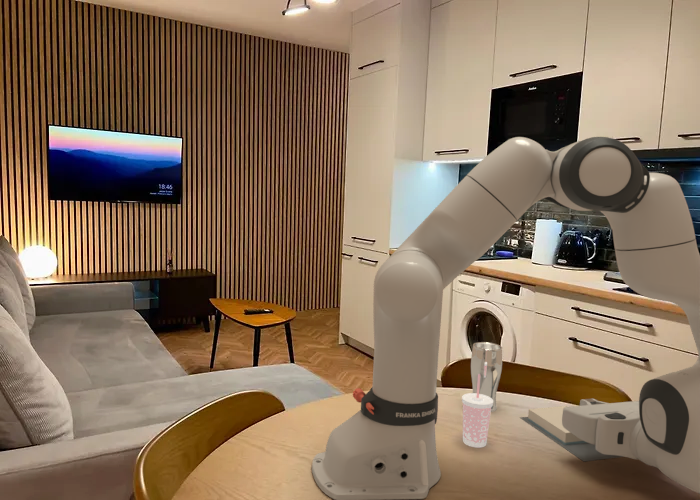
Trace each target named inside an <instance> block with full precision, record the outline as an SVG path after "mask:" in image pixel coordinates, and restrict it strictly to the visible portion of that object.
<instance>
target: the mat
mask: <svg viewBox="0 0 700 500" xmlns="http://www.w3.org/2000/svg"><path fill="white" fill-rule="evenodd" d="M519 418H520V419H521V420H523V422H525V423H527V424H528V425H530V426H531V427H533V428H534V429H535V430H537V431H538V432H539V433H542V434H543V435H544V436H546V437H547V438H548V439H550V440H551V441H553V442H554V443H556V444H557V445H559V446H560V447H561V448H562V449H565V450H566V451H568V452H569V453H570V454H572V455H574V456H575V457H576V458H578V459H579V460H581V461H582V462H583V463H584V462H592V461H601V460H609V459H617V458H624V456H617V455H606V454H602V453H600V452H598V451H597V450H596V445H593V444H590V443H579V444H570V445H564V444H562V443H561V442H560V441H558V440H557V439H555V438H554V437H552V436H551V435H549V434H548V433H546V432H545V431H543V430H542V429H540V428H539V427H537V426H536V425H534V424H533V423H531V422H530V421H528V416H521V417H519Z"/></svg>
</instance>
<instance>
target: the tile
mask: <svg viewBox="0 0 700 500" xmlns="http://www.w3.org/2000/svg"><path fill="white" fill-rule="evenodd" d="M564 407H568V405H564V406H563V405H562V406H552V407H539V408H537V407H536V408H528V413H527V414H528V415H527V417H528V421H530V422H531V423H533V424H534V425H536V426H537V427H539V428H540V429H542V430H543V431H545V432H546V433H548V434H549V435H551V436H552V437H554V438H555V439H557V440H558V441H560V442H561V443H562V444H564V445H570V444H579V443H587V442H585V441H583V440H581V439H580V438H578V437H577V436H575V435H574V434H572V433H571V432H569V431H568V430H566V429H565V428H564V427H563V425H562V414H563V409H564Z"/></svg>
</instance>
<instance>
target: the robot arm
mask: <svg viewBox="0 0 700 500" xmlns="http://www.w3.org/2000/svg"><path fill="white" fill-rule="evenodd" d="M543 199H545V200H546V201H549V202H551V203H552V204H555V205H557V206H559V207H562V208H566V209H572V210H574V211H579V212H588V211H589V212H590V211H591V212H592V211H598V212H600V213H601V214H603V215H604V216H605V218H606V219H607V221H608V223H609V225H610V229H611V230H612V237H613V238H612V239H613V246H614V252H615V259H616V263H617V264H616V266H617V269H618V272H619V274H620V276H621V279H622V281H623V282H624V283H625V284H626V285H627V286H628V288H629V289H631V290H633V292H635V293H637V294H638V295H641V296H643V297H645V298H648V299H652V300H657V301H662V302H668V303H673V304H674V305H677V306H678V307H679V308H681V310H682V311H683V312H684V313H685V316H686V318H687V320H688V321H687V322H688V325H689V328H690V330H691V334H692V338H693V340H694V344H695V347H696V350H697V353H698V356H697V360H696V362H695V363H694V364H693V365H691V366H689V367H686V368H683V369H679V370H677V371H672V372H669V373H665V374H663V375H660V376H657V377H655V378H652V379H649V380H647V381H646V382H644V384H643V385H642V387H641V389H640V393H639V397H638V400H636V401H635V400H633V401H623V402H622V401H621V402H611V403H609V402H605V401H600V400H598V399H595V398H585V399H584V398H583V399H580V400H579V401H580V402H579V405H571V406H567V407H564V409H563V414H562V425H563V427H564V428H565V429H566V430H568V431H569V432H571V433H572V434H574V435H575V436H577V437H578V438H580V439H581V440H583V441H585V442H587V443H590V444H593V445H596V450H597V451H598V452H600V453H602V454H606V455H617V456H624V457H625V458H629V459H631V460H632V459H633V460H639V461H640V462H642V463H644V464H645V465H647V466H650V467H655V468H656V469H658V470H659V471H660V472H661V473H662V474H663V475H664V476H666V477H667V478H669V479H671V480H672V481H674V482H676V483H677V484H679V485H681V486H682V487H684V488H686V489H689V490H690V491H692V492H695V493H697V494H699V495H700V252H699V248H698V244H697V239H696V234H695V228H694V223H693V219H692V215H691V213H690V210H689V206H688V203H687V200H686V197H685V195H684V192H683V190H682V188H681V185H680V183H679V182H678V181H677V180H676V179H675V178H674V177H672V176H671V175H668V174H665V173H661V172H660V173H659V172H649V170H648V169H647V168H646V167H645V166H644V165H643V164H642V163H641V161H640V160H639V159H638V157H637V156H636V154H635V153H634V151H633V150H632V149H631V148H630V147H629V146H628V145H627V144H625V143H624V142H622V141H621V140H618V139H615V138H613V137H608V136H593V137H589V138H588V137H587V138H585V139H583V140H578V141H575V142H573V143H570V144H568V145H565V146H564V147H561V148H560V149H558V150H555V151H550V150H548V149H545V147H544V146H543V145H542V144H540V143H539V142H537V141H535V140H533V139H531V138H528V137H524V136H515V137H512V138H508V139H507V140H506V141H505V142H503V143H502V144H500V145H499V146H498V147H497V148H495V149H494V150H492V151H491V152H490V153H489V154H488V155H486V156H485V157H484V158H483V159H482V160H481V161H479V163H477V164H476V166H474V167H473V168H472V169H471V170H470V171H469V172H468V173H467V174H466V175H465V176H464V177H463V178H462V179H461V181H460V182H459V183H458V184H457V185H456V186H455V187H454V188H453V189H452V190H451V191H450V192H449V193H448V194H447V195H446V196H445V198H444V199H443V200H442V201H440V203H439V204H438V205H437V206H436V207H434V209H433V210H432V211H431V212H430V214H429V215H427V216H426V218H425V219H424V220H423V221H421V223H420V224H419V225H418V226H417V227H416V228H415V229H414V230H413V232H412V233H410V234H409V236H408V237H407V238H406V239H405V240H404V241H403V242H402V243H401V244H400V245H399V246H398V247H397V248H396V250H395V251H393V252H392V254H390V256H389V257H388V258H387V259H386V260H385V261H384V262H383V263H382V264H381V265H380V266H379V268H378V270H377V271H376V273H375V276H374V280H373V303H372V305H373V340H374V346H373V349H374V351H373V365H372V366H373V367H372V370H373V371H372V385H371V386H372V387H371V388H370V389H369V390H368V392H367V393H365V392H364V390H363V389H362V388H360V387H356V388H355V389H354V390H352V397H353V398H354V399H355V401H356V402H357V403H360V410H358V411H357V412H356V413H354V414H353V415H351V417H349V418H348V419H347V420H345V421H344V422H342V423H340V425H338V426H336V427H335V428H333V430H332V431H331V432H330V434H329V436H328V439H327V442H326V447H325V451H323V452H319V453H316V454H315V456H314V457H313V459H312V463H311V472H312V476H313V479H314V481H315V482H316V485H317V487H319V489H320V490H321V491H322V492H323V493H324V494H325V495H326V496H328V497H329V498H331V499H333V500H424V499H426V498H427V496H428V494H429V492H430V489H431V488H432V487H433V486H434V485H436V484H437V483H438V482H439V480H440V479H441V475H442V474H441V469H440V465H439V460H438V454H437V443H436V441H437V440H436V424H437V421H438V411H439V410H438V409H439V394H438V392H437V384H438V382H437V381H438V368H439V367H438V365H439V350H440V340H441V339H440V337H441V325H442V324H441V323H442V310H443V296H444V290H445V289H446V288H447V287H448V286H449V285H450V284H451V283H452V282H453V281H454V280H455V279H456V278H457V277H459V276H460V275H461V274H462V273H463V272H464V271H466V270H467V269H468V268H470V266H472V265H473V264H474V263H475V262H476V261H478V260H479V259H480V258H482V256H484V255H485V254H486V253H487V251H488V250H489V249H491V248H492V247H493V246H494V245H495V243H497V241H498V240H500V239H501V237H503V235H505V233H506V232H508V230H510V228H512V227H513V225H514V224H515V223H517V221H519V219H520V218H521V217H522V216H523V215H524V214H525V213H526V212H527V211H528V209H530V208H531V207H532V206H533V205H535V204H536V203H537V202H539V201H541V200H543ZM624 457H623V458H624Z"/></svg>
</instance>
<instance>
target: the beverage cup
mask: <svg viewBox="0 0 700 500" xmlns="http://www.w3.org/2000/svg"><path fill="white" fill-rule="evenodd" d="M479 389H480V374H478V382H477V393H473V392H469V393H464V394H463V395H462V396H461V403H462V442H463V443H464V444H465V445H466V446H469V447H470V448H471V447H472V448H484V447H485V446H487V442H488V436H489V433H488V432H489V429H490V428H489V427H490V419H491V414H492V412H491V407H492V406H493V399H492V398H490V397H489V396H486V395H483V394H479Z"/></svg>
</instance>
